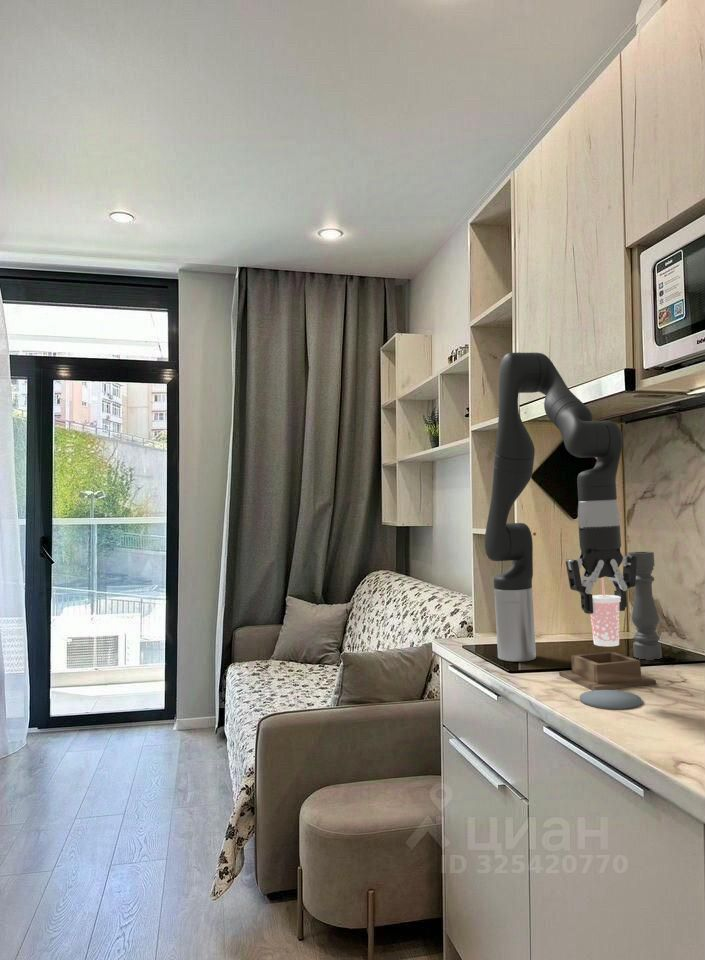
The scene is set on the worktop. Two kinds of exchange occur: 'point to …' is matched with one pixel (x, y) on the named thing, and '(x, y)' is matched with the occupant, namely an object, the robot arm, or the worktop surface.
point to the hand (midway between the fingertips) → (604, 611)
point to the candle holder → (645, 610)
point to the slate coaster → (610, 699)
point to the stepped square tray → (606, 671)
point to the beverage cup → (605, 619)
